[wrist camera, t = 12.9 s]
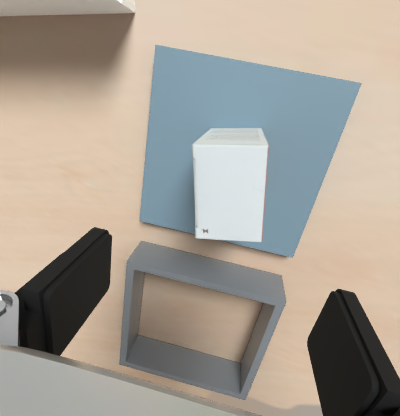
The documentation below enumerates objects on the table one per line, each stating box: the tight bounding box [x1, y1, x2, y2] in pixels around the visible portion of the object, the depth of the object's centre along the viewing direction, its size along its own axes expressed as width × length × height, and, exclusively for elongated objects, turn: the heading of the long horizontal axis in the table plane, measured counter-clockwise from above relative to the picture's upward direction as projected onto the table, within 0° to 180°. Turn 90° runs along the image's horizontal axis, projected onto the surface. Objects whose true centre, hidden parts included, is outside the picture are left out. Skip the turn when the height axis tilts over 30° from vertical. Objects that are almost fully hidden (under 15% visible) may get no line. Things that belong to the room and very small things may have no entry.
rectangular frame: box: [119, 241, 286, 400], centre depth 39 cm, size 20×20×5 cm
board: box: [140, 45, 362, 258], centre depth 30 cm, size 20×20×2 cm
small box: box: [192, 128, 269, 242], centre depth 25 cm, size 8×6×10 cm
